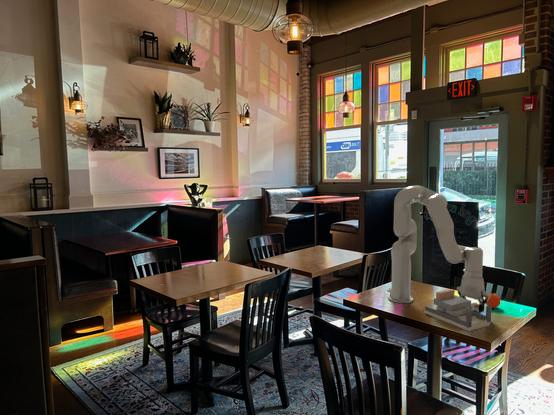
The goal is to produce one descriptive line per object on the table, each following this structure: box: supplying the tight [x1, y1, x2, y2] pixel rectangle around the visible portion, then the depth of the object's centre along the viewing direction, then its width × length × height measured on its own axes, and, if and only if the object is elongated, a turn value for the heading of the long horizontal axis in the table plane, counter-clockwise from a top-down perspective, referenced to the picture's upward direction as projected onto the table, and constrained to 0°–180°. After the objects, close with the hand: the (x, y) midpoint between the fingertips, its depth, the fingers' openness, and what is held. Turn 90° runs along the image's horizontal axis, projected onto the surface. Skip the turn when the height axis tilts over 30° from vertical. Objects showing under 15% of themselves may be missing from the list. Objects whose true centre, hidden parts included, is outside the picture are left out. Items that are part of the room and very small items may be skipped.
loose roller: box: [467, 302, 479, 312], centre depth 197 cm, size 4×9×4 cm
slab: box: [432, 288, 472, 311], centre depth 190 cm, size 10×13×6 cm
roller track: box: [424, 305, 493, 332], centre depth 188 cm, size 24×15×8 cm, turn 28°
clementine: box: [485, 293, 501, 309], centre depth 203 cm, size 8×7×7 cm
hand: (472, 308), depth 196 cm, fingers open, 9 cm apart
